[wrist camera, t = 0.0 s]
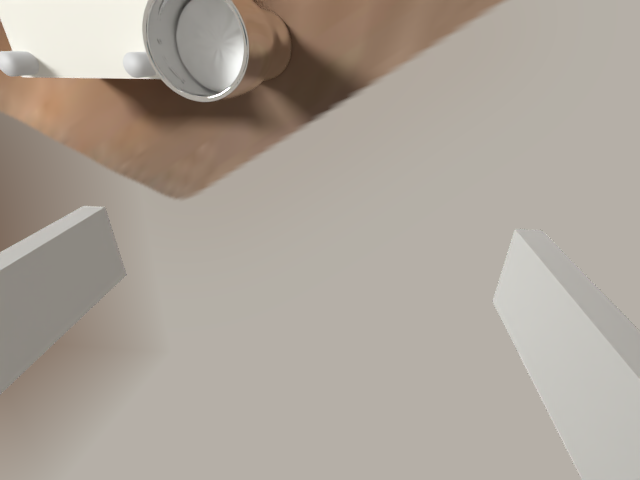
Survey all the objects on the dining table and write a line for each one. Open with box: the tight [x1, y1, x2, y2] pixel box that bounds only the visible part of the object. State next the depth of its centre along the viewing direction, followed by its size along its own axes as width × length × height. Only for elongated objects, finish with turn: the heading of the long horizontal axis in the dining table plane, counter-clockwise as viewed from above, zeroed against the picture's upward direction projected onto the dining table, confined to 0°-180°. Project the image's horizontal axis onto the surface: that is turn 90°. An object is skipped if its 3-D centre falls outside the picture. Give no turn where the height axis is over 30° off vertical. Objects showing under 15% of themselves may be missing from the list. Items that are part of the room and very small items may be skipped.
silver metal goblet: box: [142, 0, 292, 102], centre depth 27 cm, size 7×7×15 cm
